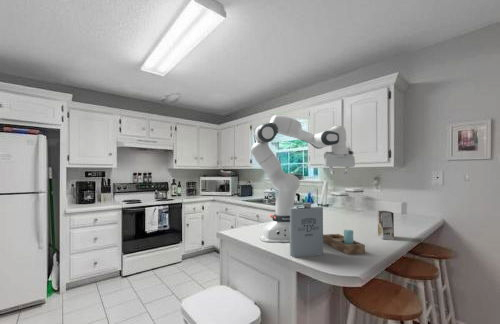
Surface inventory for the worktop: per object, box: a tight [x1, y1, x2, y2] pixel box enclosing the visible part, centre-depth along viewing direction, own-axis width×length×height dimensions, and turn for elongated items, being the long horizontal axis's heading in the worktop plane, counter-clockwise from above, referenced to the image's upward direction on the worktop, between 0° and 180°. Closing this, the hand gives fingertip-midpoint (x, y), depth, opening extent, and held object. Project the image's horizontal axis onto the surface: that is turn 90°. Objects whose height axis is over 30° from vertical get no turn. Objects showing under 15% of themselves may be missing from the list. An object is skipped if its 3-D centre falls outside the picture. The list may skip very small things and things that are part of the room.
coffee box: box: [377, 210, 395, 241], centre depth 144 cm, size 9×6×16 cm
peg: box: [343, 229, 354, 245], centre depth 120 cm, size 4×4×10 cm
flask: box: [289, 202, 324, 258], centre depth 113 cm, size 17×5×25 cm, turn 107°
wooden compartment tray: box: [323, 233, 366, 255], centre depth 125 cm, size 10×22×4 cm, turn 13°
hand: (339, 174), depth 145 cm, fingers open, 8 cm apart
